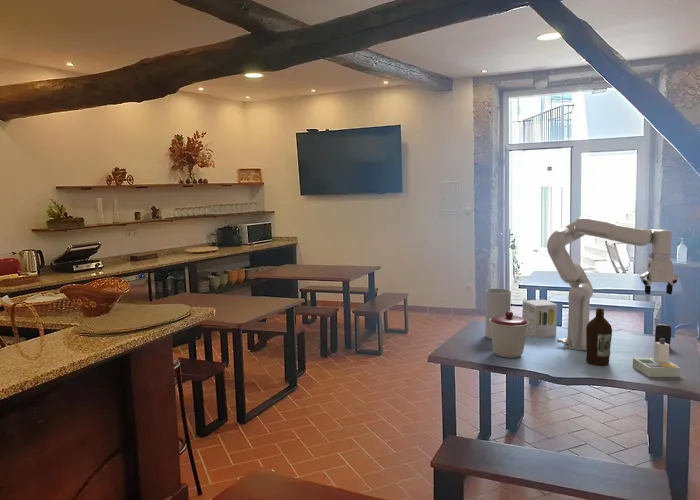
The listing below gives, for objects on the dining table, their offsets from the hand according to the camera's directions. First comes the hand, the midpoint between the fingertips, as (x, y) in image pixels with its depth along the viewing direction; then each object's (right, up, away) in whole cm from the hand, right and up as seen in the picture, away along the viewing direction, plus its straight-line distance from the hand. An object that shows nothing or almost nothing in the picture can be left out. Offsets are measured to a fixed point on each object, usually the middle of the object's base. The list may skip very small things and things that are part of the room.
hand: (658, 293), depth 245 cm
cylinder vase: (-63, -26, +40) cm, 79 cm away
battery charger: (+14, -28, +21) cm, 38 cm away
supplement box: (-39, -26, +46) cm, 65 cm away
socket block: (-9, -32, -14) cm, 37 cm away
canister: (-66, -30, +10) cm, 73 cm away
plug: (-6, -32, -12) cm, 35 cm away
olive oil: (-29, -31, -2) cm, 43 cm away
